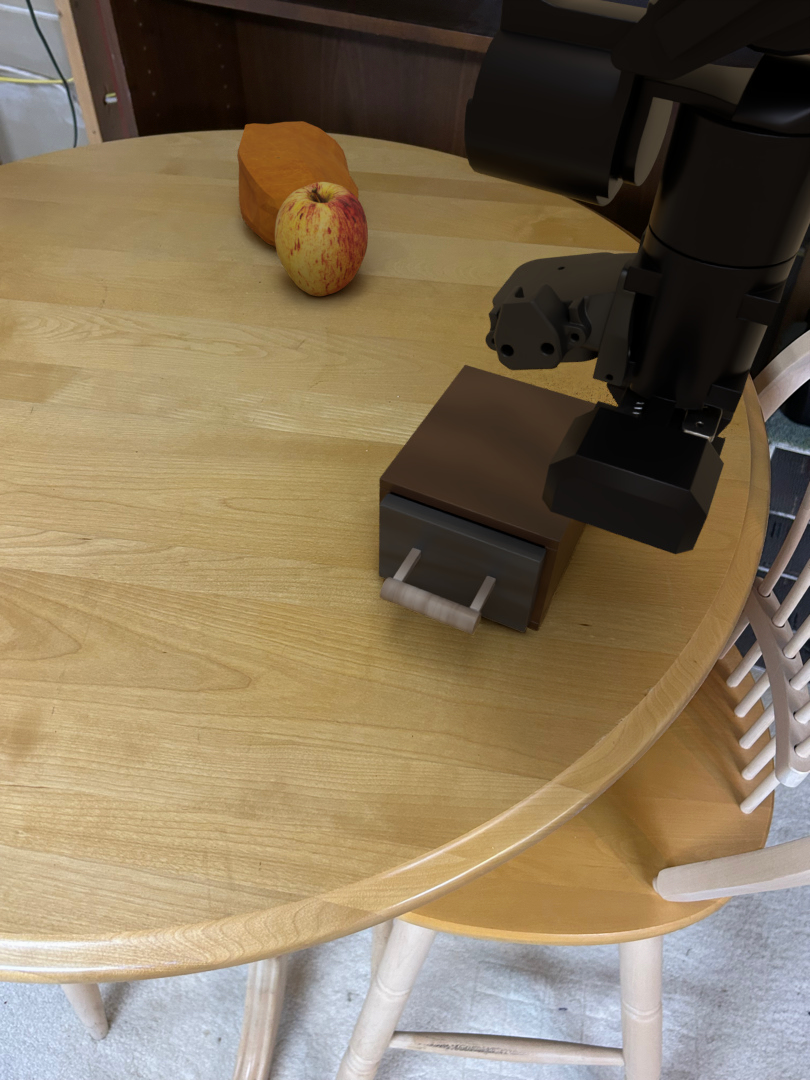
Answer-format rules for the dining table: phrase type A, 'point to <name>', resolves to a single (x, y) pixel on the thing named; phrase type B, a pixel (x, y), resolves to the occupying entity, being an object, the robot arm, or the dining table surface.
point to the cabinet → (494, 464)
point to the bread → (284, 169)
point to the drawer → (455, 566)
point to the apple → (321, 237)
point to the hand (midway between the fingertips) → (629, 514)
